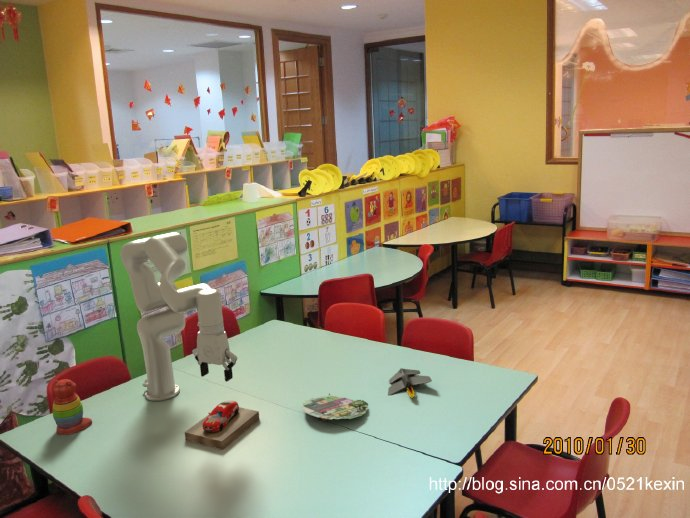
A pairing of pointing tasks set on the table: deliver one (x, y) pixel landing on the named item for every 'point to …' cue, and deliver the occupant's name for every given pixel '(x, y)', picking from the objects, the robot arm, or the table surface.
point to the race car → (220, 416)
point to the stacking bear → (68, 408)
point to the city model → (334, 408)
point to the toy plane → (407, 381)
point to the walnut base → (223, 430)
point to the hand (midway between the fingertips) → (216, 377)
